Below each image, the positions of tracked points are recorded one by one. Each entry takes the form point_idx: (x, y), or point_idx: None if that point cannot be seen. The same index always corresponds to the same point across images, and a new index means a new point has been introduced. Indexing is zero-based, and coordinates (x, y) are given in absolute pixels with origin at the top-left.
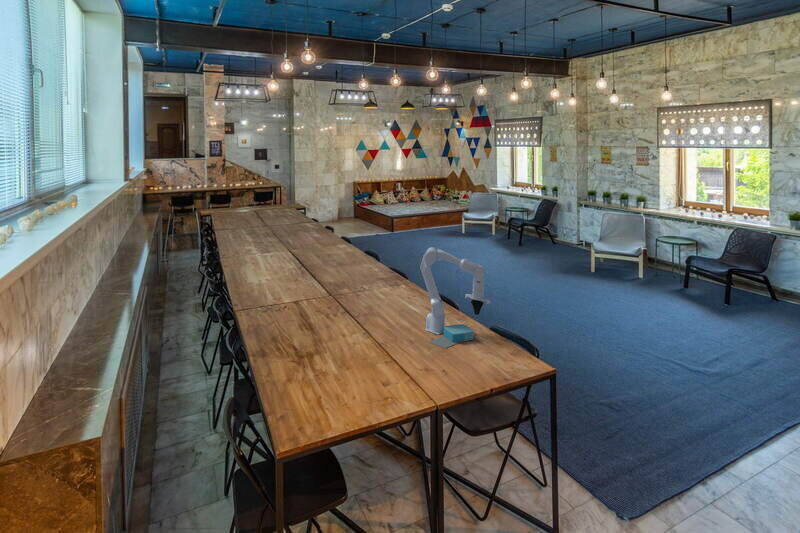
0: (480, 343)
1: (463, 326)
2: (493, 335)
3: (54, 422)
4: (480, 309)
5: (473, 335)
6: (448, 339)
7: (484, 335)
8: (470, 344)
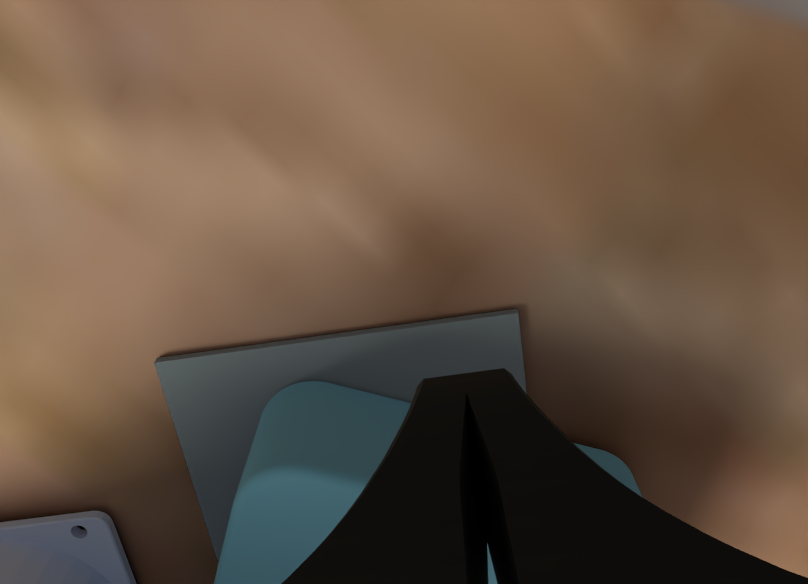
0: (782, 462)
1: None
2: (736, 23)
3: None
4: (570, 448)
5: None
6: None
7: (612, 171)
8: None
